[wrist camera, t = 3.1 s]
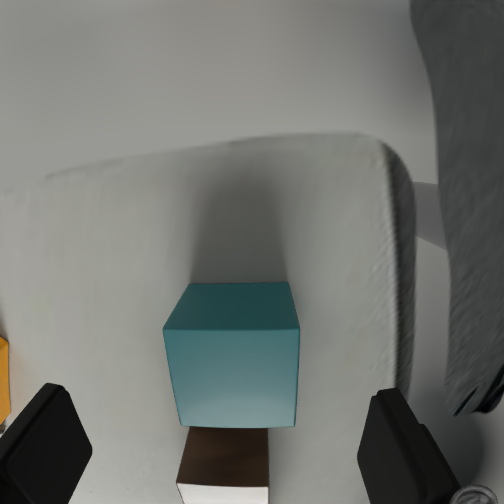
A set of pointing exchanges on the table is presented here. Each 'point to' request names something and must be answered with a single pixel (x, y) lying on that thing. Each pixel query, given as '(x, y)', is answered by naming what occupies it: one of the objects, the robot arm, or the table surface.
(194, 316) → the teal block
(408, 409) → the robot arm
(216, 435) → the line block
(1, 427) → the red black flat square
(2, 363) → the wide flat orange box
